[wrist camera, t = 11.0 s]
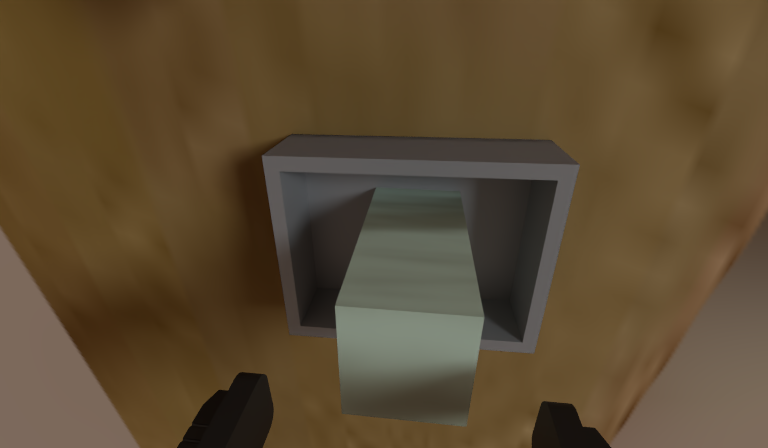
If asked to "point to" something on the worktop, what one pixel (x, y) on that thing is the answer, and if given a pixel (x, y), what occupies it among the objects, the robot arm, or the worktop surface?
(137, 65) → the worktop surface
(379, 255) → the sage block
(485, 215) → the bin
